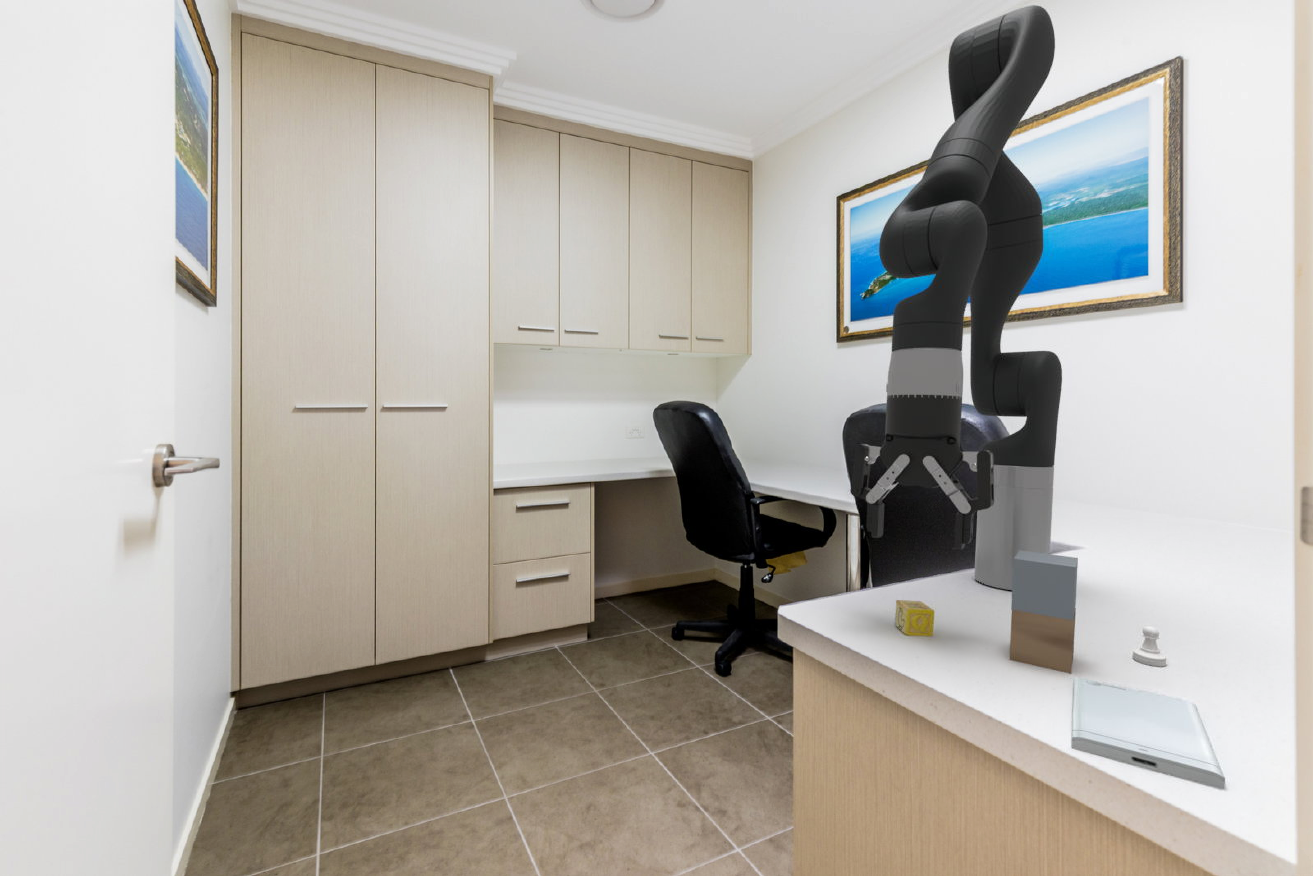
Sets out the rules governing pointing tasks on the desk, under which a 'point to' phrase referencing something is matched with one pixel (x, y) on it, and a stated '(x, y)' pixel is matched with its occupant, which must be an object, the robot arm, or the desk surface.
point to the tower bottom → (1042, 640)
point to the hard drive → (1143, 731)
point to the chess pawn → (1150, 649)
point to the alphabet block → (914, 618)
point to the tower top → (1044, 584)
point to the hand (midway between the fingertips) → (916, 542)
